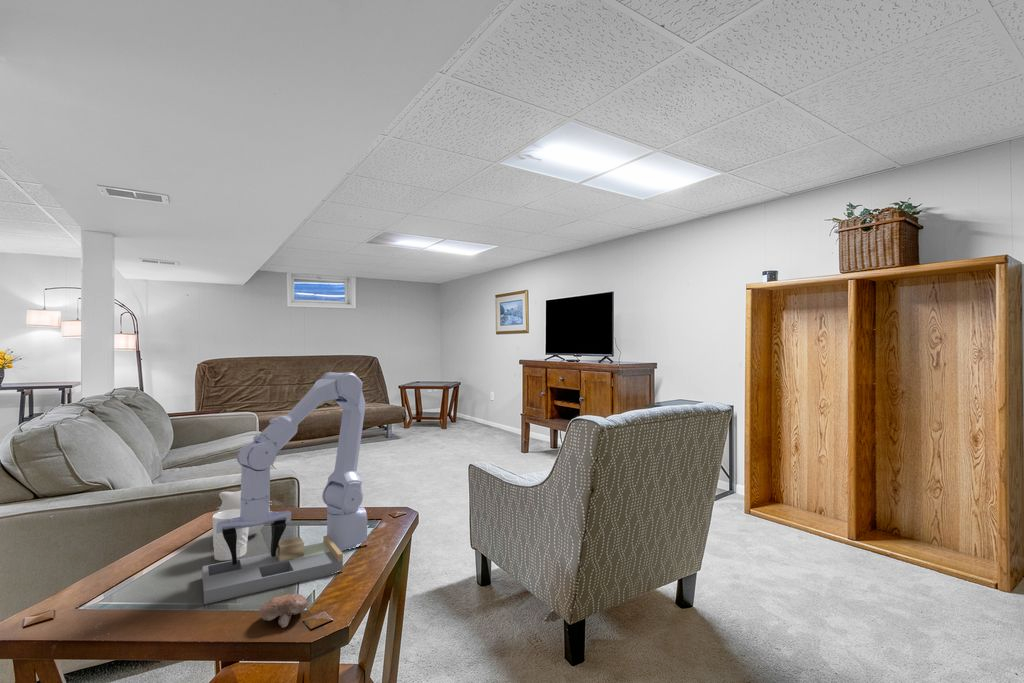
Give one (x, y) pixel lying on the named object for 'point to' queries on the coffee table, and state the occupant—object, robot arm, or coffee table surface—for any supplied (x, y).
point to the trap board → (269, 571)
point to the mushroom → (283, 608)
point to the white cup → (219, 542)
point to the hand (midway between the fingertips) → (254, 559)
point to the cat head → (235, 506)
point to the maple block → (290, 548)
